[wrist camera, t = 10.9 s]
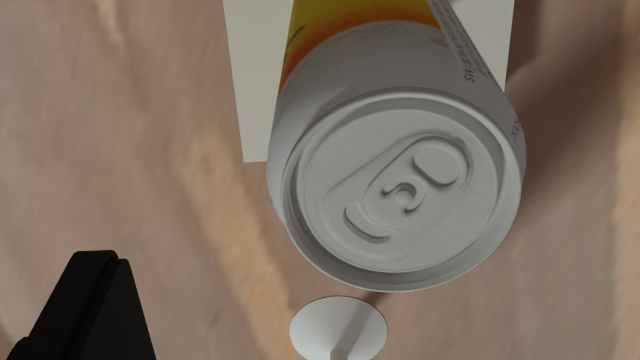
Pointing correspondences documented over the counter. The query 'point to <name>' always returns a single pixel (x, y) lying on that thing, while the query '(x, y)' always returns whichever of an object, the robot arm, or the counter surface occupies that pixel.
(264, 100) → the riser
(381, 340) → the champagne flute
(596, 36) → the counter surface
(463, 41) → the beer can
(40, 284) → the counter surface
